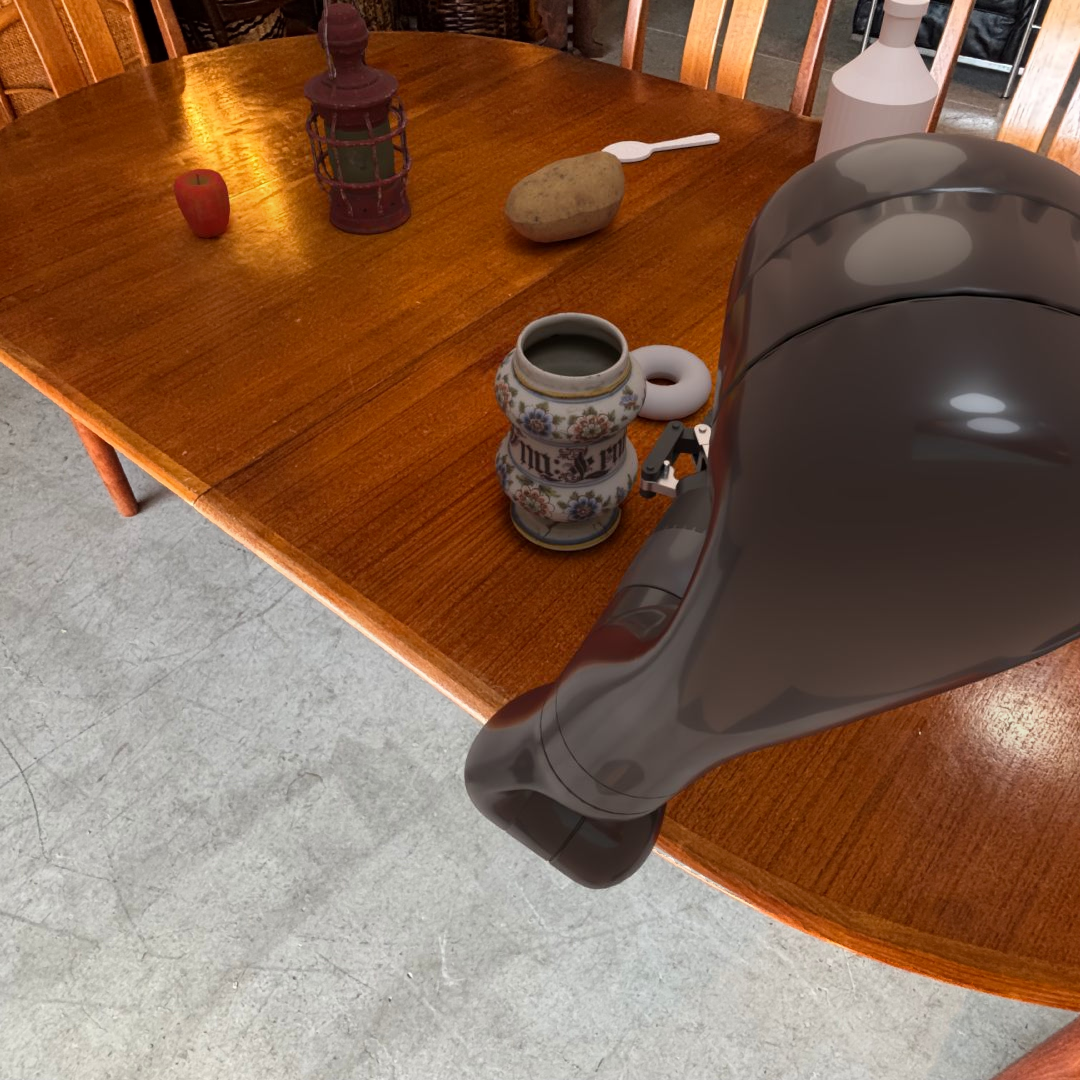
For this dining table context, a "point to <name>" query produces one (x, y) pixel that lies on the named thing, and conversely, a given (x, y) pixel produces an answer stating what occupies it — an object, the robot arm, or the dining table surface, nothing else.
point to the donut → (678, 369)
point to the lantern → (357, 129)
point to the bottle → (881, 85)
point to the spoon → (656, 146)
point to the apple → (203, 201)
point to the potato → (567, 198)
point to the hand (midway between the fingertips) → (785, 428)
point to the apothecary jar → (568, 429)
